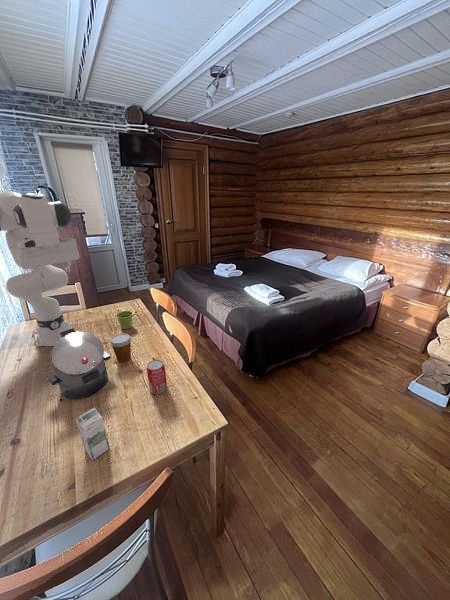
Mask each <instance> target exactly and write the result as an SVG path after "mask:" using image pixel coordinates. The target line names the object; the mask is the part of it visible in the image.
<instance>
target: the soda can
mask: <svg viewBox="0 0 450 600" xmlns="http://www.w3.org/2000/svg"><path fill="white" fill-rule="evenodd" d="M166 374H167V373H166V366H165V364H164V362H163V361H162V360H161V359H152V360H151V361H149V362H148V363H147V365H146V375H147V376H146V377H147V381H148V387H149V388H148V389H149V392H151V393H152V394H153V395H161V394H163V393H165V391H166V390H167V388H168V385H167V384H168V383H167V376H166Z"/></svg>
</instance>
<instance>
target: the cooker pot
mask: <svg viewBox="0 0 450 600" xmlns="http://www.w3.org/2000/svg"><path fill="white" fill-rule="evenodd" d="M110 359H111V355H110V354H109V353H108V352H107V351H105V350H104V355H103V359H102V361H101V363H100V364H99V366H98V367H97V368H96V369H94V370H93V371H91V372H89V373H87V374H84V375H79V376H72V375H67V374H64V373H62V372H60V371H59V370H57V369H56V367H55V366H54V369H53V371H54V373H52V374H49V375H47V376H46V377H47V380H48V381H49V383H50V384H51V385H52V386H55V385H58V386H59V390H60V392H61V396H63V398H65V399H67V400H72V401H75V400H76V401H77V400H83V399H84V400H85V399H87V398H89V397H92V396H94V395H96V394H98V393H99V392H101V391H102V390H103V389H104V388H105V387H106V385H107V384H108V381H109V376H108V371H107V367H106V362H107V361H109V360H110Z"/></svg>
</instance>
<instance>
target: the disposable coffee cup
mask: <svg viewBox="0 0 450 600" xmlns="http://www.w3.org/2000/svg"><path fill="white" fill-rule="evenodd" d="M131 341H132V336H130V334H128V333H118V334H114V335H113V336H111V338H110V341H109V344H110V345H111V347H112V349H113V350H112V351H113V353H114V354H115V355H114V356H115V357H116V360H117V362H118V363H119V364H123V363H127V362H129V361H130V360H131V358H132V354H131V350H132V349H131V348H132V347H131V346H132V345H131Z"/></svg>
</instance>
